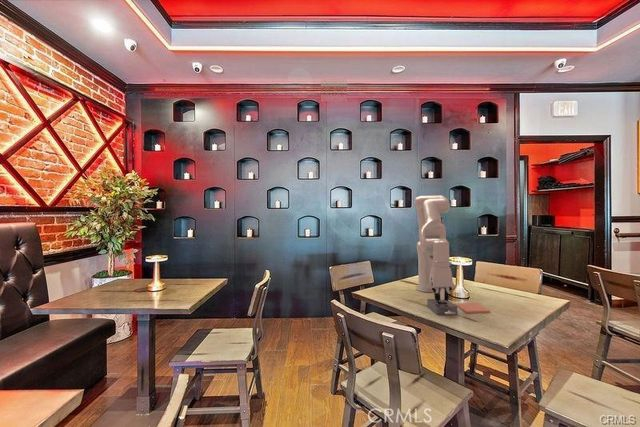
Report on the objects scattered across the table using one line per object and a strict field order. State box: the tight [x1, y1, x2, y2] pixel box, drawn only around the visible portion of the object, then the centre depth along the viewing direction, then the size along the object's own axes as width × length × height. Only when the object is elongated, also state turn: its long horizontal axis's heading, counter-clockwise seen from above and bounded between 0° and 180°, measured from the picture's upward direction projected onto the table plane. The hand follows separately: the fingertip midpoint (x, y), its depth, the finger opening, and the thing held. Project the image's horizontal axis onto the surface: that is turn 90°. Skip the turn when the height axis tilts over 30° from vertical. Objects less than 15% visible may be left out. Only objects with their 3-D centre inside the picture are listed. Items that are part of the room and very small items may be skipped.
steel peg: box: [438, 287, 445, 304], centre depth 146 cm, size 3×3×12 cm
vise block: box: [426, 298, 458, 316], centre depth 144 cm, size 16×10×4 cm, turn 1°
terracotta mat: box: [453, 302, 491, 314], centre depth 147 cm, size 12×12×1 cm
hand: (441, 300), depth 146 cm, fingers open, 3 cm apart
